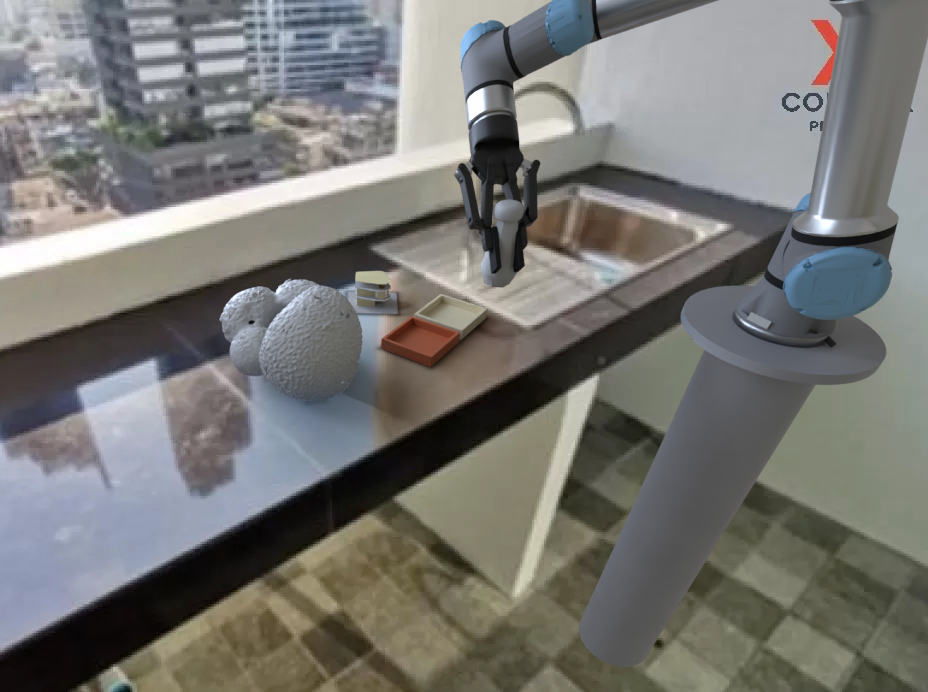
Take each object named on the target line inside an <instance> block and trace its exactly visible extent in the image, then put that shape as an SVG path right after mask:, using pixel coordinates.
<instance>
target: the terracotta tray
mask: <svg viewBox="0 0 928 692" xmlns="http://www.w3.org/2000/svg"><path fill="white" fill-rule="evenodd" d="M459 337H460V332H457V331H454V330H452V329H449V328H446V327H443V326H440V325H437V324H434V323H431V322H428V321H425V320H422V319H419V318H417V317H414V315H410V317H408V318H407V319H406V320H404V321H402V323H400V324H399V325H398V326H396V327H394V328H393V329H392V330H390V332H388V333H387V334H386V335H385V336H383V337H382V338H381V340H380V341H381V342H380V349H381V350H385V351H386V352H387V351H388V352H389V353H393V354H395V355H398V356H400V357H403V358H406V359H408V360H410V361H413V362H416V363H418V364H422V365H424V366H426V367H429V368H431V367H432V366H434V364H436V363H437V362H438V361H439V360H440V359H442V357H444V356H445V355H446V354H447V353H448V352H449V351H451V350H452V349H453V347H455V346H456V345H458V343H459V342H460V339H459Z"/></svg>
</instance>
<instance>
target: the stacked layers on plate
mask: <svg viewBox="0 0 928 692" xmlns="http://www.w3.org/2000/svg"><path fill="white" fill-rule="evenodd" d="M354 278H355V279H354V281H355V284H354V291H348V292H347V300H349V302H350V303H351V305H352V306H353V308H354V309H355V310H356V314H371V315H372V314H375V315H376V314H379V315H398V314H399V310H398V295H397V293H398V292H389V290H391V289H392V286H391V284H390V283H391V282H392V279H391V278H390V277H389V275H388V273H387V272H385V271H383V270H367V271H366V270H365V271H356V272H355V277H354Z"/></svg>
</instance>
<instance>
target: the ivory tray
mask: <svg viewBox="0 0 928 692" xmlns="http://www.w3.org/2000/svg"><path fill="white" fill-rule="evenodd" d="M488 311H489V309H488V307H485V306H481V305H478V304H476V303H472V302H469V301H466V300H463V299H459V298H456V297H453V296H450V295H446V294H443V293H440V294H439V295H437V296H436V297H434V298H433V299H432V300H430V301H429V302H427V304H425V305H424V306H423V307H421V308H420V309H419V310H417V311H416V312H415V313H414V314H413V316H414V317H417V318H419V319H422V320H425V321H428V322H431V323H434V324H437V325H440V326H443V327H446V328H449V329H452V330H454V331H457V332H460V337H459V341H461V340H463V339H464V338H465V337H466V336H468V334H470V333H471V332H472V331H473V330H474V329H475V328H476V327H477V326H479V325H480V324H481V323H482V322H483V321H484V320H486V319H487V316H488Z"/></svg>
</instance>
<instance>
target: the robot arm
mask: <svg viewBox="0 0 928 692" xmlns="http://www.w3.org/2000/svg"><path fill="white" fill-rule="evenodd" d="M718 1H719V0H551V1H549V2H548V3H546V4H544V5H543V6H541V7H539V8H537V9H536V10H534V11H532V12H531V13H529V14H527V15H526V16H524V17H522V18H521V19H519V20H518V21H516V22H514V23H512V24H509V25H508V26H505V24H504V23H503V22H501V21H499V20H497V19H496V20H495V19H489V20H487V21H485V22H478V23H476V24H473V25H472V26H471V27H470V28H469V29H468V30H467V31H466V32H465V33H464V35H463V37H462V39H461V43H460V71H461V77H462V84H463V91H464V99H465V100H464V101H465V112H466V119H467V120H466V121H467V122H466V123H467V130H468V142H469V152H470V158H469V161H467V162H466V163H464V162H461V163H459V164H458V166H457V167H456V169H455V172H454V173H453V174H454V175H453V176H454V178H455V179H456V181H457V182H458V184H459V187H460V192H461V197H462V202H463V206H464V213H465V217H466V223H467V227H468V229H469V230H470V231H471V230H472V231H473V230H476V231H477V232H478V234H479V235H480V236H481V244H482V250H483V252H484V253H486V252H487V251H489V257H490V267H491V274H495V273H497V272H498V271H499V270H500V269H501V267H502V265H501V256H500V246H499V237H498V228H497V226H495V225H494V226H493V215H494V191H495V190H494V189H495V185H498V186H499V185H500V187H501V191H502V192H503V193H504V197H505V200H516V201H519V202H520V203H522V205H523V206H524V213H523V216H522V218H521V219H520V220H518V230H517V232H516V243H515V254H514V263H513V270H514V272H517V273H519V272H520V271H522V270H523V269H524V267H525V266H526V261H525V255H524V250H525V249H526V247H528V243H529V239H528V231H527V228H528V227H531V226H532V225H533V224H534V223H535V222H536V220H538V213H539V212H538V173H539V170H540V166H541V161H540V160H539V159H534V160H533V161H531V160H529V159H526V158H525V157H524V154H523V152H522V151H521V148H520V147H521V146H520V134H519V125H518V120H517V108H516V107H517V106H516V100H515V89H514V83H515V82H517V81H519V80H521V79H523V78H525V77H527V76H528V75H530V74H533V73H534V72H536V71H539V70H541V69H543V68H545V67H547V66H549V65H551V64H553V63H555V62H557V61H559V60H561V59H563V58H565V57H569V56H571V55H573V54H574V53H576V52H577V51H578V50H580V49H581V48H583V47H585V46H587V45H591V44H593V43H597V42H599V41H600V40H604V39H607V38H609V37H612V36H615V35H618V34H622V33H625V32H628V31H630V30H634V29H636V28H639V27H643V26H646V25H648V24H652V23H655V22H658V21H660V20H664V19H667V18H670V17H673V16H675V15H678V14H682V13H685V12H688V11H691V10H694V9H697V8H700V7H703V6H706V5H708V4H713V3H715V2H718ZM828 4H829V6H831V7H832V8H833V9H834V10H836V12H838V13H839V14H840V17H841V18H840V19H841V20H840V25H839V31H838V35H837V41H836V42H837V43H836V47H835V54H834V58H833V65H832V70H831V76H830V80H829V81H830V82H829V87H828V92H827V99H826V105H825V110H824V114H823V122H822V126H821V132H820V138H819V143H818V144H819V145H818V150H817V156H816V162H815V166H814V173H813V179H812V186H811V190H810V192H809V193H807V194H805V195H803V196H802V197H801V198H800V200H799V202H798V204H797V205H796V207H795V208H794V209H793V210H792V216H791V217H790V220H789V222H788V224H787V225H786V228H785V230H784V232H783V234H782V236H781V238H780V240H779V243H778V244H777V246H776V248H775V250H774V253H773V254H772V257H771V259H770V261H769V263H768V265H767V267H766V270H765V271H764V274H763V275H762V277H761V278H760V280H759V281H757V283H756V284H755V285H753V286H754V287H753V288H752V289H751V290H750V291H749V292H748V293H747V294H746V295H745V296H744V297H743V298H742V299H741V301H740V302H739V303H738V304H737V306H736V308H735V310H734V312H733V314H732V318H733V321H734V322H735V324H736V325H737V326H738V327H739V328H741V329H742V330H743V331H745V332H746V333H748V334H750V335H752V336H754V337H756V338H759V339H761V340H764V341H767V342H770V343H774V344H778V345H782V346H788V347H798V348H809V347H817V346H821V345H823V344H825V343H827V344H828V345H829V347H830V348H831V347H833V346H835V345H836V343H835V342H834V341H833V339H832V338H831V335H832V334H833V332H834V330H835V325H836V319H842V318H847V317H850V316H856V315H859V314H861V313H862V312H864V311H866V310H868V309H870V308H872V307H873V306H875V305H876V304H877V303H878V302H880V301H881V299H883V298H884V296H885V295H886V293H887V291H888V290H889V288H890V285H891V282H892V277H893V272H892V271H893V267H892V265H891V262H890V261H889V260H890V255H891V250H892V248H893V243H894V240H895V234H896V232H897V228H898V227H897V226H898V222H899V218H900V217H899V215H898V214H897V212H895V211H894V210H893V209H892V208H891V207H890V206H889V205H888V204H889V199H890V196H891V191H892V187H893V184H894V179H895V175H896V171H897V166H898V162H899V158H900V154H901V151H902V147H903V141H904V139H905V133H906V130H907V126H908V121H909V117H910V115H911V114H910V113H911V109H912V106H913V105H912V104H913V101H914V97H915V93H916V88H917V85H918V80H919V76H920V73H921V67H922V63H923V60H924V57H925V52H926V48H927V43H928V0H828ZM519 169H521V170H522V171H521V174H522V175H521V176H522V177H523V201H522V196H521V193H520V189H519V185H518V176H517V172H519ZM473 173H474V174H475V176H476V177H477V178H478V179H479V180H480V192H481V193H480V195H481V197H480V211H479V205H478V200H477V195H476V190H475V184H474V181H473V176H472V175H473Z"/></svg>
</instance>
